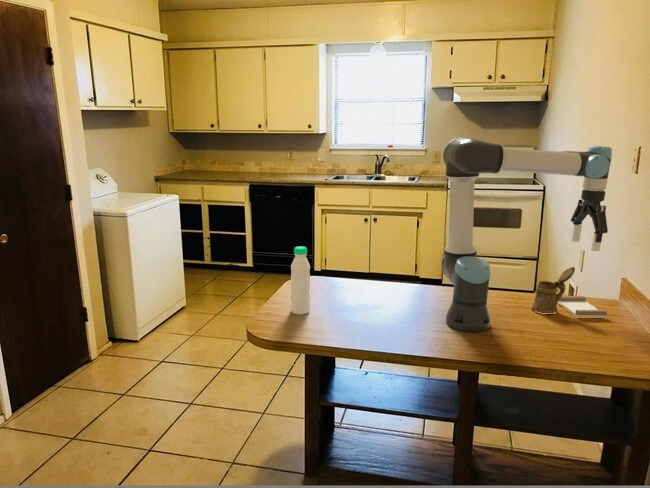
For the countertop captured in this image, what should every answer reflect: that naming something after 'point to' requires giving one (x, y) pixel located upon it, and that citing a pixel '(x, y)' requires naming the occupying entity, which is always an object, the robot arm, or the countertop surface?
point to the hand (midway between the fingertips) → (584, 246)
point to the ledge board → (581, 307)
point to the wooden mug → (550, 293)
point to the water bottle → (300, 282)
